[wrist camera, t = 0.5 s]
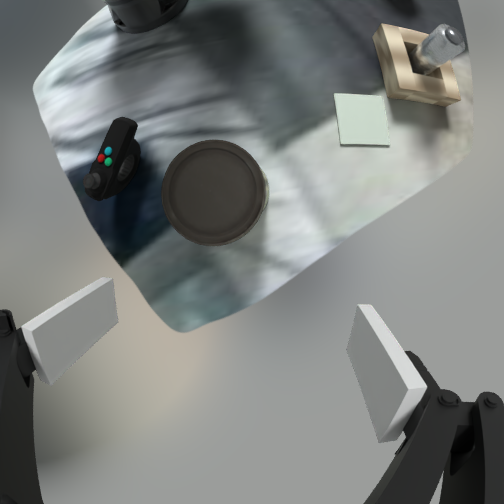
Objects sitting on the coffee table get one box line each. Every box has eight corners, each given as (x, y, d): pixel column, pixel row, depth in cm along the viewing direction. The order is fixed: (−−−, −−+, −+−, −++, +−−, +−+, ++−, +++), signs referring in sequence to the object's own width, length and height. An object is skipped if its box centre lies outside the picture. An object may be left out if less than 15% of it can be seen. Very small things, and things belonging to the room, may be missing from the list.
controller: (109, 191, 40) (72, 194, 31) (138, 122, 37) (104, 109, 28) (128, 201, 40) (92, 206, 31) (159, 130, 37) (127, 117, 28)
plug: (397, 57, 31) (437, 17, 16) (418, 62, 30) (462, 26, 16) (403, 79, 32) (448, 43, 17) (424, 83, 31) (472, 52, 17)
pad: (333, 94, 34) (334, 93, 34) (381, 97, 33) (382, 96, 33) (340, 144, 36) (340, 143, 35) (389, 145, 35) (390, 144, 34)
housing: (372, 37, 30) (381, 23, 26) (429, 49, 29) (442, 38, 24) (387, 97, 33) (399, 88, 28) (445, 106, 32) (461, 100, 27)
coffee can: (190, 213, 40) (149, 226, 26) (212, 148, 38) (179, 128, 24) (255, 236, 40) (244, 261, 26) (279, 169, 37) (281, 158, 24)
